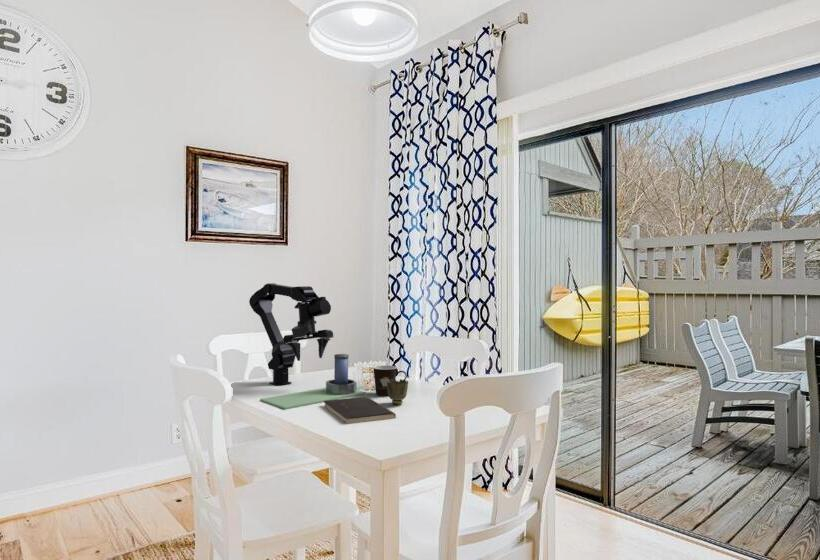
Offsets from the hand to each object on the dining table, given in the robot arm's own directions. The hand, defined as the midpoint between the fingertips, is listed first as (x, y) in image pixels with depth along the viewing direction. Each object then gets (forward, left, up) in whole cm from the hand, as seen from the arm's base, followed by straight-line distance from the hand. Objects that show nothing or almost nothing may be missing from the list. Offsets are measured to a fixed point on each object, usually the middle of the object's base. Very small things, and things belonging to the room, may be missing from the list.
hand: (309, 359), depth 197 cm
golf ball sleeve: (+11, +6, -11) cm, 17 cm away
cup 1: (+11, +6, -11) cm, 17 cm away
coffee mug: (+25, +17, -12) cm, 33 cm away
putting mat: (+10, -5, -12) cm, 16 cm away
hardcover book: (+36, -6, -13) cm, 39 cm away
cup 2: (+37, +10, -12) cm, 41 cm away
